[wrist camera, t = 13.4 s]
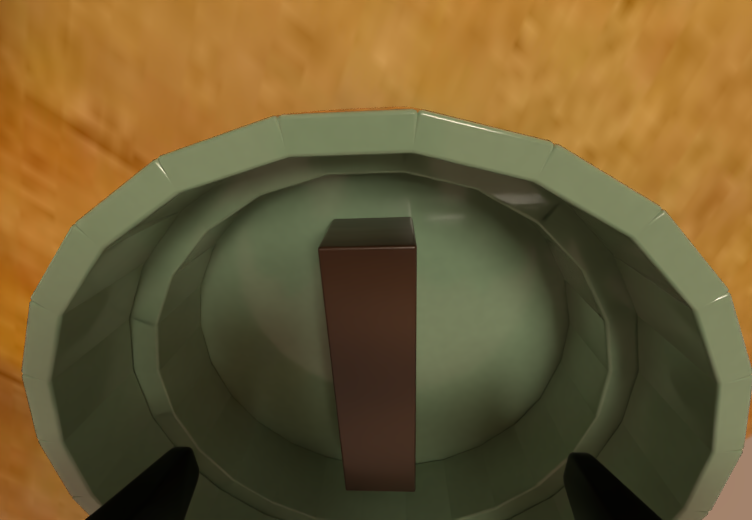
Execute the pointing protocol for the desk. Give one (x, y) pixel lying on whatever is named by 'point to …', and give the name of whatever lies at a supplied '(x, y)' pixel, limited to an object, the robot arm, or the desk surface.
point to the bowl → (434, 327)
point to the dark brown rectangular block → (373, 347)
